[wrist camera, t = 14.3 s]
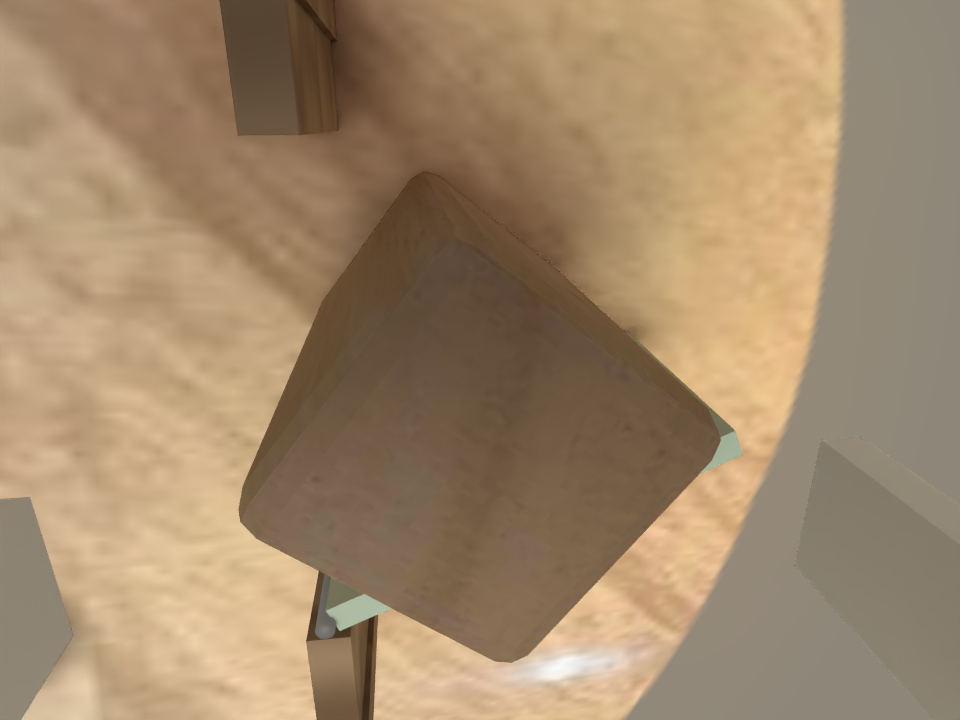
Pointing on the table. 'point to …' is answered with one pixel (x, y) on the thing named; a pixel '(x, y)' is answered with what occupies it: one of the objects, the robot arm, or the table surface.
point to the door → (354, 607)
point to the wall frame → (296, 111)
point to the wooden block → (469, 432)
